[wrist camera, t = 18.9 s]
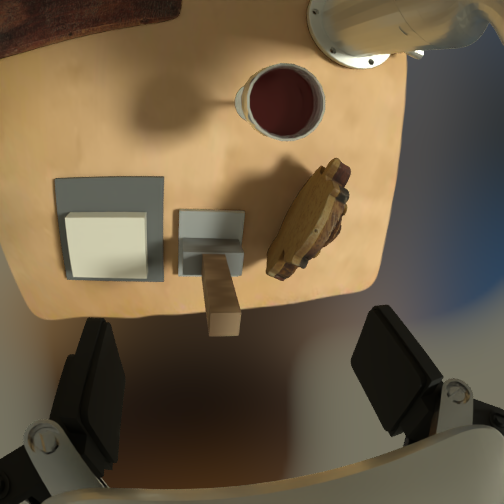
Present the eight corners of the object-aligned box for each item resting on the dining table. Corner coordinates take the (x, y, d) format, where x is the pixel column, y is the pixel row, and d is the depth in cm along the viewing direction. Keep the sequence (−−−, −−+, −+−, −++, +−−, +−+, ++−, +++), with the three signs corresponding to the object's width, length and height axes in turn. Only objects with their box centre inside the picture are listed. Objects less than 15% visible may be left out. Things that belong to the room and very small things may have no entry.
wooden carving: (285, 267, 44) (309, 308, 35) (256, 258, 43) (275, 300, 34) (338, 160, 38) (379, 179, 30) (309, 145, 37) (346, 160, 28)
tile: (144, 217, 34) (146, 278, 37) (146, 211, 36) (148, 269, 39) (64, 217, 32) (73, 277, 35) (70, 211, 34) (77, 268, 37)
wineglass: (223, 127, 34) (240, 136, 23) (231, 71, 31) (252, 55, 21) (279, 133, 36) (319, 147, 25) (288, 80, 33) (331, 72, 22)
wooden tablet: (188, -42, 22) (179, 24, 26) (187, -34, 24) (179, 30, 28) (-6, -2, 17) (-22, 62, 20) (1, 2, 19) (-13, 65, 22)
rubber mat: (164, 176, 35) (163, 177, 35) (163, 279, 41) (163, 281, 41) (56, 178, 32) (54, 179, 31) (68, 277, 38) (67, 279, 37)
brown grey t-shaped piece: (238, 239, 40) (266, 310, 27) (236, 260, 41) (261, 336, 28) (183, 237, 38) (184, 311, 25) (182, 259, 39) (184, 338, 26)
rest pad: (243, 210, 39) (245, 212, 38) (237, 273, 43) (238, 276, 42) (179, 208, 37) (179, 210, 37) (178, 273, 41) (178, 276, 40)
